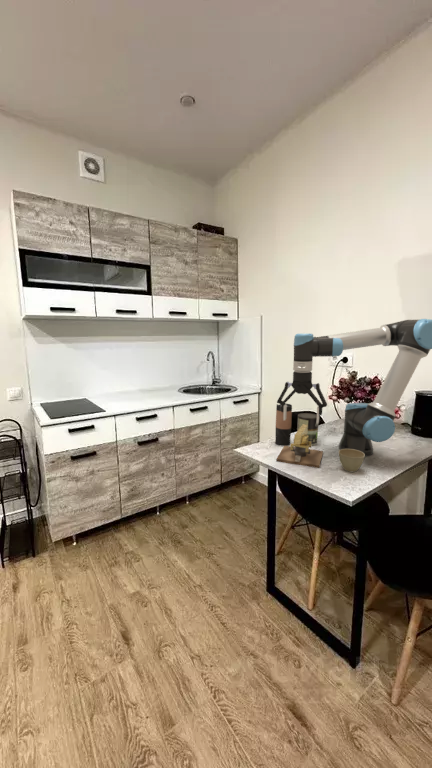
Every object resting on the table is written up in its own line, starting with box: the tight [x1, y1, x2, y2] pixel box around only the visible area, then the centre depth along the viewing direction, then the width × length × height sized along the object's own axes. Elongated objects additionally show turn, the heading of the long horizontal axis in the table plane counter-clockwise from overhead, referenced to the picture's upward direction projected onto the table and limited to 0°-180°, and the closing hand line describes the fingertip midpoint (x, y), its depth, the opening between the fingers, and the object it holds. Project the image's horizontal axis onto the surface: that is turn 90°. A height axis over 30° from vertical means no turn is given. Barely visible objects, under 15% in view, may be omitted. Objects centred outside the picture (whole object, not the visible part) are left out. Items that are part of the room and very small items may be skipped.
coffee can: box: [296, 412, 319, 447], centre depth 169 cm, size 10×10×14 cm
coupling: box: [289, 424, 312, 452], centre depth 148 cm, size 18×8×9 cm, turn 155°
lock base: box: [275, 445, 324, 469], centre depth 149 cm, size 18×18×6 cm
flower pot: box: [338, 449, 366, 473], centre depth 137 cm, size 10×10×7 cm
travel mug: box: [275, 402, 293, 447], centre depth 166 cm, size 8×8×20 cm
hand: (300, 421), depth 140 cm, fingers open, 13 cm apart
